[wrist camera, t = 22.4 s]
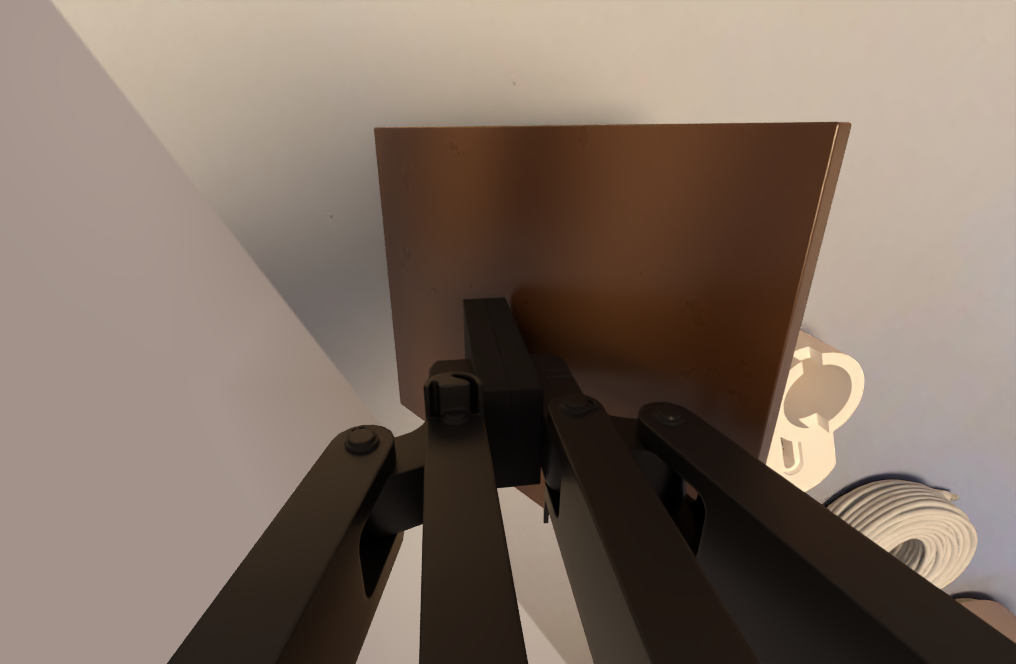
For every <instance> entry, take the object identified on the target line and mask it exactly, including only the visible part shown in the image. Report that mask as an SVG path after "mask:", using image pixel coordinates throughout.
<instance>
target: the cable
mask: <svg viewBox="0 0 1016 664" xmlns="http://www.w3.org/2000/svg"><path fill="white" fill-rule="evenodd" d="M958 498H959V497H958V496H957V495H954V494H952V493H950V492H948V491H944V490H938V489H932V488H930V487H928V486H926V485H923V484H920V483H916V482H910V481H904V480H881V481H876V482H872V483H869V484H866V485H863V486H861V487H858V488H856V489H854V490H852V491H851V492H849V493H847V494H845V495H843V496H841V497H840V498H838V499H837V500H835V501H834V502H833V503H831V504H830V505H829V506H828V507H827V509H829V510H830V511H831V512H833V513H834V514H836V515H837V516H838V517H840V518H841V519H843V520H844V521H845V522H847V523H848V524H850V525H851V526H852V527H854V528H855V529H857V530H858V531H859V532H861V533H862V534H864V535H865V536H866V537H868V538H869V539H871V540H872V541H873V542H875V543H876V544H878V545H879V546H880V547H882V548H883V549H885V550H886V551H887V552H889V553H890V554H892V555H893V556H894V557H896V558H897V559H899V560H900V561H901V562H903V563H904V564H906V565H907V566H908V567H910V568H911V569H913V570H914V571H915V572H917V573H918V574H920V575H921V576H922V577H924V578H925V579H927V580H928V581H929V582H931V583H932V584H934V585H935V586H936V587H938V588H939V589H941V588H943V587H945V586H946V585H948V584H949V583H951V582H952V581H953V580H955V579H956V578H957V577H958V576H959V575H960V574H961V573H962V572H963V571H964V570H965V568H966V567H967V566H968V564H969V563H970V561H971V559H972V557H973V555H974V553H975V550H976V547H977V533H976V530H975V528H974V526H973V525H972V524H971V523H970V520H969V518H968V517H967V516H966V514H965V513H964V512H963V511H961V510H960V509H959V508H957V507H956V506H955V505H954V504H952V503H951V502H950V500H956V499H958Z"/></svg>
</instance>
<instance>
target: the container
mask: <svg viewBox="0 0 1016 664" xmlns="http://www.w3.org/2000/svg"><path fill="white" fill-rule="evenodd" d="M955 600H956V601H957V602H959V603H960V604H962V605H963V606H964V607H966V608H967V609H969V610H970V611H971V612H973V613H974V614H976V615H977V616H978V617H980V618H981V619H983V620H984V621H985V622H987V623H988V624H990V625H991V626H992V627H994V628H995V629H997V630H998V631H999V632H1001V633H1002V634H1004V635H1005V636H1006V637H1008V638H1009V639H1011V640H1012V641H1013V642H1015V643H1016V616H1015V615H1014V614H1012V613H1011V612H1010V611H1009V610H1008V609H1006V608H1005V607H1004V606H1003V605H1001V604H1000V603H997V602H995V601H990V600H977V599H972V598H960V599H955Z"/></svg>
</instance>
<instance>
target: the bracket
mask: <svg viewBox="0 0 1016 664" xmlns="http://www.w3.org/2000/svg"><path fill="white" fill-rule="evenodd" d="M863 390H864V375H863V371H862V369H861V367H860V365H859V364H858V363H857V362H856V361H855V360H854V359H853V358H851V357H850V356H848V355H846V354H844V353H842V352H840V351H839V350H837V349H835V348H833V347H831V346H829V345H827V344H826V343H824V342H822V341H820V340H818V339H816V338H814V337H813V336H811V335H809V334H807V333H805V332H803V331H801V330H800V331H799V335H798V339H797V343H796V347H795V351H794V355H793V359H792V363H791V367H790V371H789V375H788V379H787V383H786V387H785V391H784V395H783V399H782V403H781V407H780V411H779V415H778V419H777V423H776V427H775V431H774V435H773V439H772V443H771V446H770V450H769V454H768V458H767V462H766V465H767V466H769V467H770V468H771V469H773V470H774V471H776V472H777V473H778V474H780V475H781V476H783V477H784V478H785V479H787V480H788V481H789V482H791V483H792V484H794V485H795V486H796V487H798V488H799V489H801V490H802V491H803V492H805V491H807V490H809V489H811V488H813V487H814V486H816V485H817V484H818V483H820V482H821V481H822V480H823V479H824V478H825V477H826V476H827V475H828V474H829V473H830V472H831V470H832V469H833V468H834V466H835V463H836V459H835V449H834V438H833V431H834V430H836V429H837V428H839V427H840V426H841V425H842V424H843V423H844V422H845V421H846V420H847V419H848V418H849V417H850V416H851V415H852V413H853V412H854V411H855V409H856V407H857V406H858V404H859V402H860V400H861V397H862V394H863ZM780 437H782V443H783V450H784V454H782V447H781V441H780Z"/></svg>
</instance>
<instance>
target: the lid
mask: <svg viewBox="0 0 1016 664" xmlns="http://www.w3.org/2000/svg"><path fill="white" fill-rule="evenodd" d="M850 129H851V123H849V122H794V123H710V124H626V125H542V126H458V127H375V128H374V134H375V144H376V154H377V165H378V175H379V185H380V195H381V206H382V216H383V226H384V237H385V247H386V257H387V267H388V278H389V288H390V298H391V309H392V319H393V329H394V340H395V350H396V360H397V370H398V381H399V391H400V401H401V404H402V405H404V406H405V407H406V408H408V409H409V410H410V411H412V412H413V413H414V414H416V415H417V416H419V417H420V418H421V419H423V420H424V421H426V415H425V402H424V388H423V386H424V384H425V382H426V381H427V380H428V379H429V368H430V367H431V366H432V365H433V364H434V363H435V362H436V361H440V360H458V359H465V343H464V315H463V299H479V298H503V297H505V298H506V301H507V303H508V305H509V308H510V310H511V312H512V315H513V317H514V319H515V322H516V324H517V326H518V329H519V331H520V333H521V336H522V338H523V340H524V343H525V345H526V347H527V350H528V352H529V354H540V353H554V354H556V355H557V356H559V357H560V358H562V359H564V361H565V362H566V364H567V366H568V368H569V370H570V371H571V373H572V375H573V377H574V378H575V380H576V382H577V384H578V385H579V387H580V389H581V391H582V392H583V394H584V395H587V396H590V397H592V398H594V399H596V400H598V401H599V402H600V403H601V404H602V405H603V407H604V408H605V410H606V412H607V413H608V414H609V415H612V416H618V417H625V418H634V419H638V411H639V409H640V408H641V407H642V406H643V405H646V404H648V403H653V402H670V403H673V404H676V405H679V406H682V407H684V408H686V409H688V410H690V411H692V412H693V413H694V414H696V415H697V416H699V417H700V418H701V419H703V420H704V421H706V422H707V423H708V424H710V425H711V426H713V427H714V428H715V429H717V430H718V431H720V432H721V433H722V434H724V435H725V436H727V437H728V438H729V439H731V440H732V441H734V442H735V443H736V444H738V445H739V446H741V447H742V448H743V449H745V450H746V451H748V452H749V453H750V454H752V455H753V456H755V457H756V458H757V459H759V460H760V461H762V462H763V463H764V464H766V462H767V458H768V454H769V450H770V446H771V443H772V439H773V435H774V431H775V427H776V423H777V419H778V415H779V411H780V407H781V403H782V399H783V395H784V391H785V387H786V383H787V379H788V375H789V371H790V367H791V363H792V359H793V355H794V351H795V347H796V343H797V339H798V335H799V331H800V327H801V323H802V320H803V316H804V312H805V308H806V304H807V300H808V296H809V292H810V288H811V284H812V280H813V276H814V272H815V268H816V264H817V260H818V256H819V252H820V248H821V244H822V240H823V236H824V232H825V228H826V224H827V220H828V216H829V212H830V208H831V204H832V200H833V196H834V193H835V189H836V185H837V181H838V177H839V173H840V169H841V165H842V161H843V157H844V153H845V149H846V145H847V141H848V137H849V133H850ZM515 488H517V489H518V490H519V491H521V492H522V493H523V494H525V495H526V496H528V497H529V498H530V499H532V500H533V501H534V502H536V503H537V504H538V505H540V506H541V507H543V508H544V493H545V478H544V475H543V472H542V468H541V482H540V484H537V485H526V486H515ZM686 493H687V494H688V495H689V496H691V497H692V498H693V499H695V500H696V498H697V494H698V493H697V492H696V490H695V489H693V488H692V487H691V486H690V485H689V484H688V485H687V490H686Z"/></svg>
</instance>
